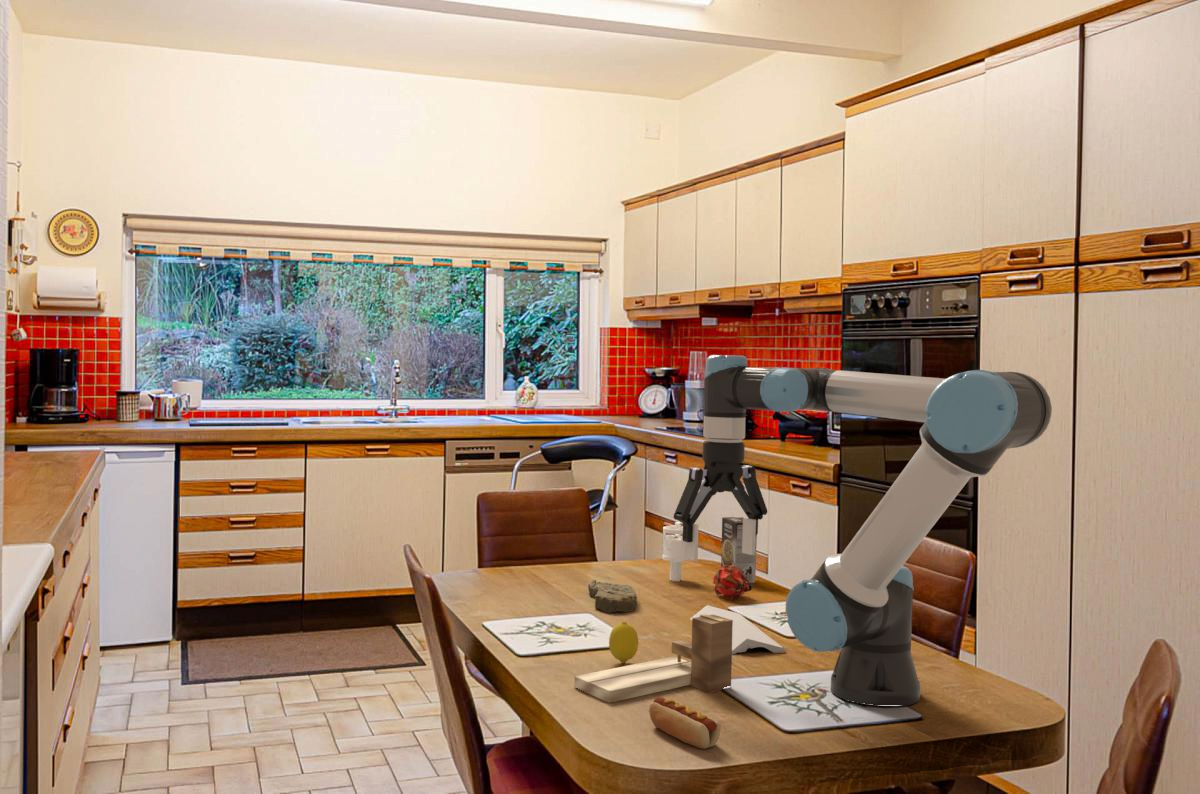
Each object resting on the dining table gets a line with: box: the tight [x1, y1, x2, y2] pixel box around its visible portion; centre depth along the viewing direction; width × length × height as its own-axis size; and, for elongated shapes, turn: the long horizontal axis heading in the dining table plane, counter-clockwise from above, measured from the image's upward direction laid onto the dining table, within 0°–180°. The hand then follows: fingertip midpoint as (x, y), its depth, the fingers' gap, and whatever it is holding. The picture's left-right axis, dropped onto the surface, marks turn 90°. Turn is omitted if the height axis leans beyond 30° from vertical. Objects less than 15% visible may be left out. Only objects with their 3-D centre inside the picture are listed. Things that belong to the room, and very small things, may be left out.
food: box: [648, 696, 721, 750], centre depth 161 cm, size 14×6×5 cm, turn 34°
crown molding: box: [689, 605, 787, 655], centre depth 223 cm, size 29×12×4 cm, turn 11°
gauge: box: [671, 614, 733, 693], centre depth 189 cm, size 12×5×12 cm, turn 37°
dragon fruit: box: [712, 565, 753, 601], centre depth 259 cm, size 8×8×12 cm
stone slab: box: [588, 579, 638, 614], centre depth 253 cm, size 27×12×5 cm, turn 11°
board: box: [574, 656, 691, 704], centre depth 187 cm, size 10×23×2 cm, turn 127°
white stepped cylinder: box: [661, 521, 690, 582], centre depth 278 cm, size 7×7×15 cm
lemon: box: [608, 620, 639, 664], centre depth 200 cm, size 6×6×8 cm
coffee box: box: [720, 516, 758, 584], centre depth 280 cm, size 9×6×16 cm
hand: (720, 557), depth 192 cm, fingers open, 13 cm apart
